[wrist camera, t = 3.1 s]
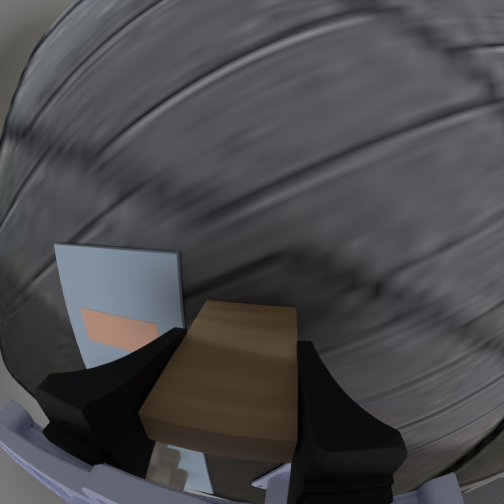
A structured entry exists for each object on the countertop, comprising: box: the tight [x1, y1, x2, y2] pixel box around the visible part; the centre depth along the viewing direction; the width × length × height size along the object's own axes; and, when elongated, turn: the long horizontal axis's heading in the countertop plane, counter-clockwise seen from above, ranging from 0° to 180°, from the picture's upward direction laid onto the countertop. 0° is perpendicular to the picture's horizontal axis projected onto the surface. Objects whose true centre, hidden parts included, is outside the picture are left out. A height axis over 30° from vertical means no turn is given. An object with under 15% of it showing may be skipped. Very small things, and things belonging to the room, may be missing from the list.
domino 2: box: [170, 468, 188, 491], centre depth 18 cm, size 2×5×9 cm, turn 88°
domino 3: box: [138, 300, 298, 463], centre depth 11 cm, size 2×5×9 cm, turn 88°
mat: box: [54, 243, 214, 494], centre depth 19 cm, size 32×10×1 cm, turn 178°
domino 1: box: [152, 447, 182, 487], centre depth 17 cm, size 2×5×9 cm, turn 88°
